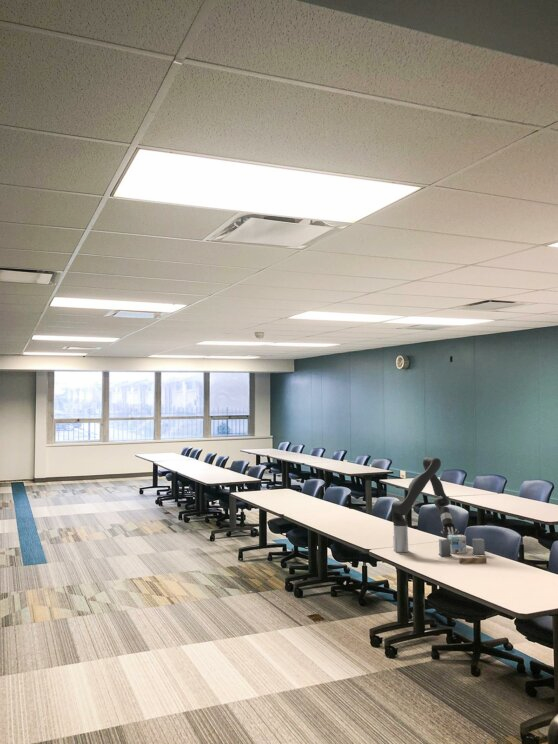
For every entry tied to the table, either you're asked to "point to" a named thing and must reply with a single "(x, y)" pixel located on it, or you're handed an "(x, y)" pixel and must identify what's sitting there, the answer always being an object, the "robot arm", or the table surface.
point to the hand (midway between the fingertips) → (453, 542)
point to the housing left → (444, 548)
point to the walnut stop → (472, 560)
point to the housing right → (478, 547)
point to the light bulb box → (457, 543)
